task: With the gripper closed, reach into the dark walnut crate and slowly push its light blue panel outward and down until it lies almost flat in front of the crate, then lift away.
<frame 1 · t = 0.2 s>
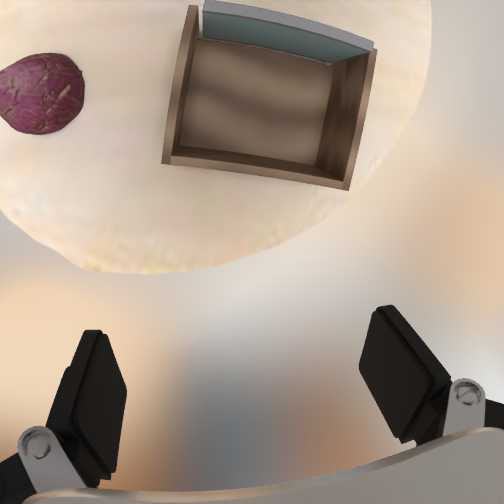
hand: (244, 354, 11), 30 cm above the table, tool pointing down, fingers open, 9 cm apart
vegetable: (51, 94, 30), on the table
light blue panel: (280, 34, 26), point 7 cm above the table, hinge at 0.0°
crate: (257, 99, 35), on the table
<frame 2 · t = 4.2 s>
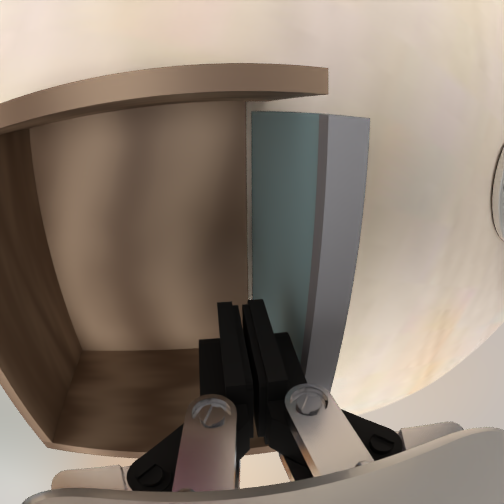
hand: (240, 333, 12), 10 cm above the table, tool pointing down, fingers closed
light blue panel: (282, 284, 15), point 7 cm above the table, hinge at 2.0°, touching gripper
crate: (147, 239, 20), on the table
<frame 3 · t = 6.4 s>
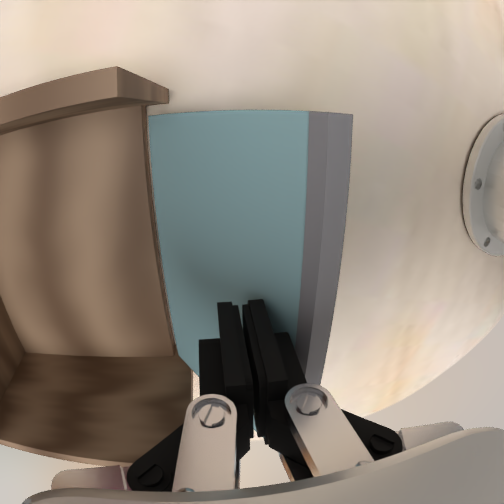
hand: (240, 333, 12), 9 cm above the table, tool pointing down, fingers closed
light blue panel: (224, 291, 14), point 6 cm above the table, hinge at 33.8°, touching gripper
crate: (68, 249, 18), on the table
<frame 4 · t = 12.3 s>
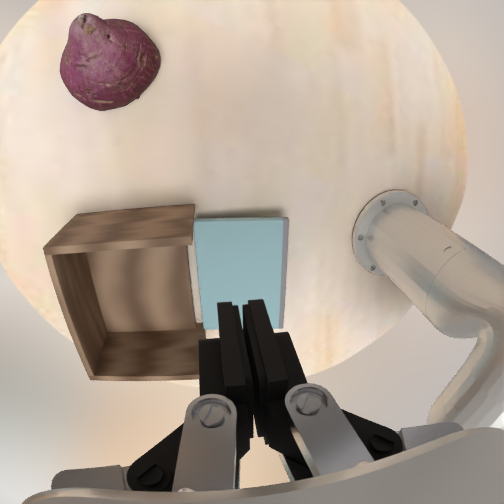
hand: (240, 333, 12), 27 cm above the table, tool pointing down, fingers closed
vegetable: (115, 67, 29), on the table
light blue panel: (242, 278, 39), point 2 cm above the table, hinge at 83.4°
crate: (142, 275, 40), on the table
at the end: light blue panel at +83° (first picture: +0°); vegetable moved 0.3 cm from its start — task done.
